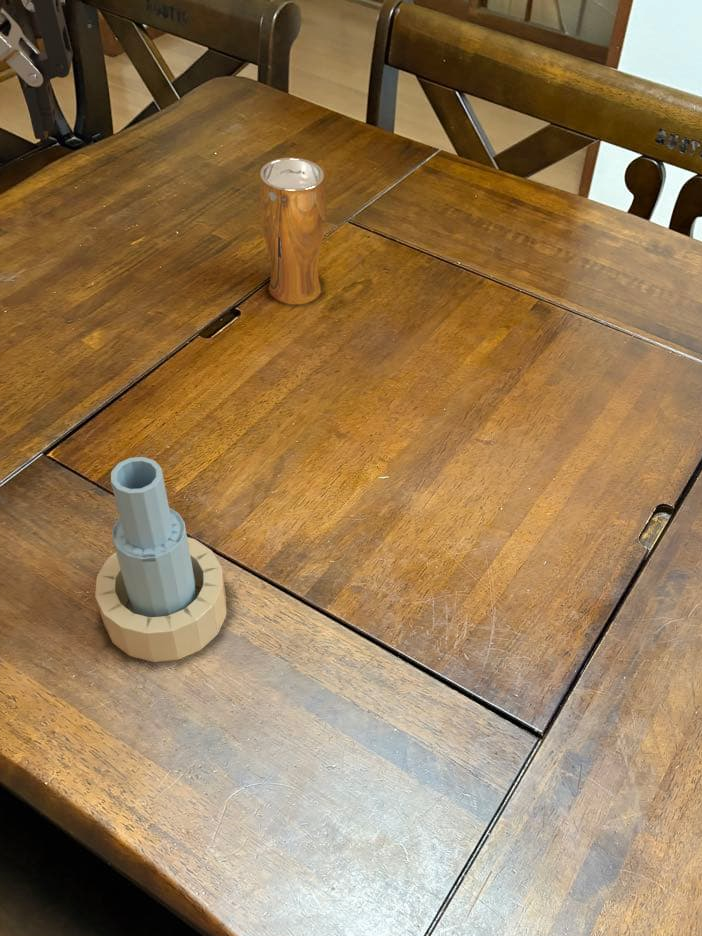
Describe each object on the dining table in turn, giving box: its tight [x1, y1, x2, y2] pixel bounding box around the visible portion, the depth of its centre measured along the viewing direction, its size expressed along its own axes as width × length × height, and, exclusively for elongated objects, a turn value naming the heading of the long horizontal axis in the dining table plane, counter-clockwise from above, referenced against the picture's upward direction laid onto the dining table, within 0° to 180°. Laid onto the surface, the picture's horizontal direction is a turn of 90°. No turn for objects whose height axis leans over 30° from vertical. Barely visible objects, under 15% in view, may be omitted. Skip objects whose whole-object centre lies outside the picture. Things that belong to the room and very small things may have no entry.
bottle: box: [110, 456, 198, 617], centre depth 69 cm, size 5×5×17 cm
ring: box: [94, 536, 227, 663], centre depth 75 cm, size 10×10×5 cm
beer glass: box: [259, 157, 327, 305], centre depth 100 cm, size 7×7×15 cm
